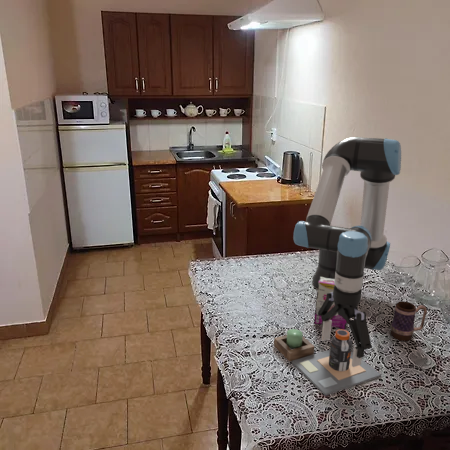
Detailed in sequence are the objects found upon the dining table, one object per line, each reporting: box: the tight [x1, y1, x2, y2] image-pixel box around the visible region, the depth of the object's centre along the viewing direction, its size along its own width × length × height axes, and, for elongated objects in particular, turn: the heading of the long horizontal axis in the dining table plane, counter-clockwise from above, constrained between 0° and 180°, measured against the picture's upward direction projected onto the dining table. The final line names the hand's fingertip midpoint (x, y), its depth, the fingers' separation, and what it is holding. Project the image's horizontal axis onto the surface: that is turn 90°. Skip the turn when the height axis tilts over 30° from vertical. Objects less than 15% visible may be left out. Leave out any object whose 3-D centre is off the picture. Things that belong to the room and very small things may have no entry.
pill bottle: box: [329, 328, 353, 371], centre depth 125 cm, size 6×6×11 cm
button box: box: [273, 334, 316, 363], centre depth 135 cm, size 9×9×3 cm
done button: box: [286, 328, 304, 350], centre depth 134 cm, size 5×5×4 cm
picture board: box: [291, 349, 382, 397], centre depth 127 cm, size 20×16×1 cm
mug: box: [389, 300, 428, 342], centre depth 142 cm, size 10×7×12 cm
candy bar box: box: [313, 277, 348, 330], centre depth 148 cm, size 11×5×16 cm, turn 71°
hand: (340, 351), depth 126 cm, fingers open, 13 cm apart
